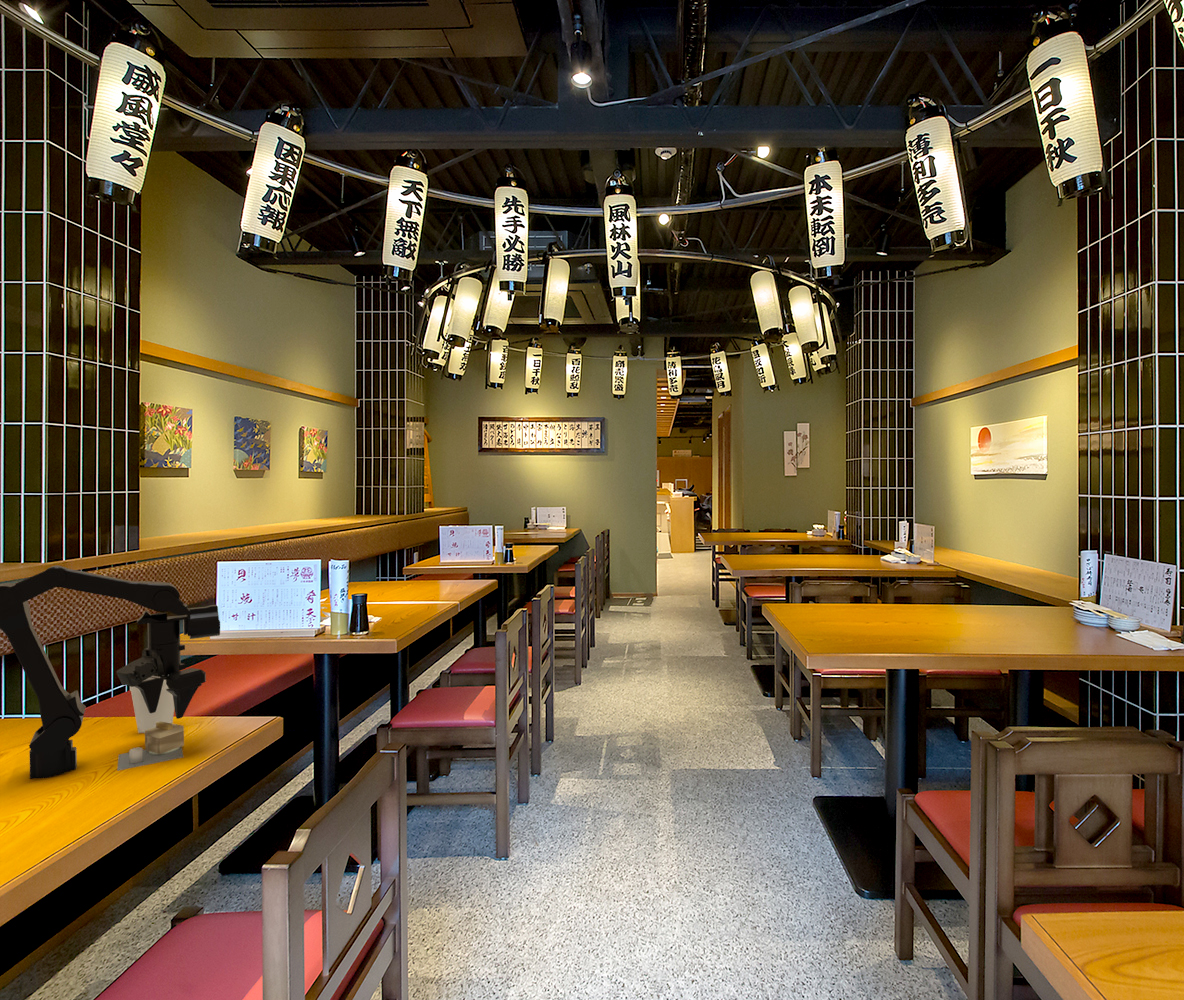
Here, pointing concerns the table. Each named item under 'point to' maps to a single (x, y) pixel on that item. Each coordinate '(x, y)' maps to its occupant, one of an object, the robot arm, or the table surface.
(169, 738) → the hinoki cap
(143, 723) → the foam cup
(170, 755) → the lock board
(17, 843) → the table surface
